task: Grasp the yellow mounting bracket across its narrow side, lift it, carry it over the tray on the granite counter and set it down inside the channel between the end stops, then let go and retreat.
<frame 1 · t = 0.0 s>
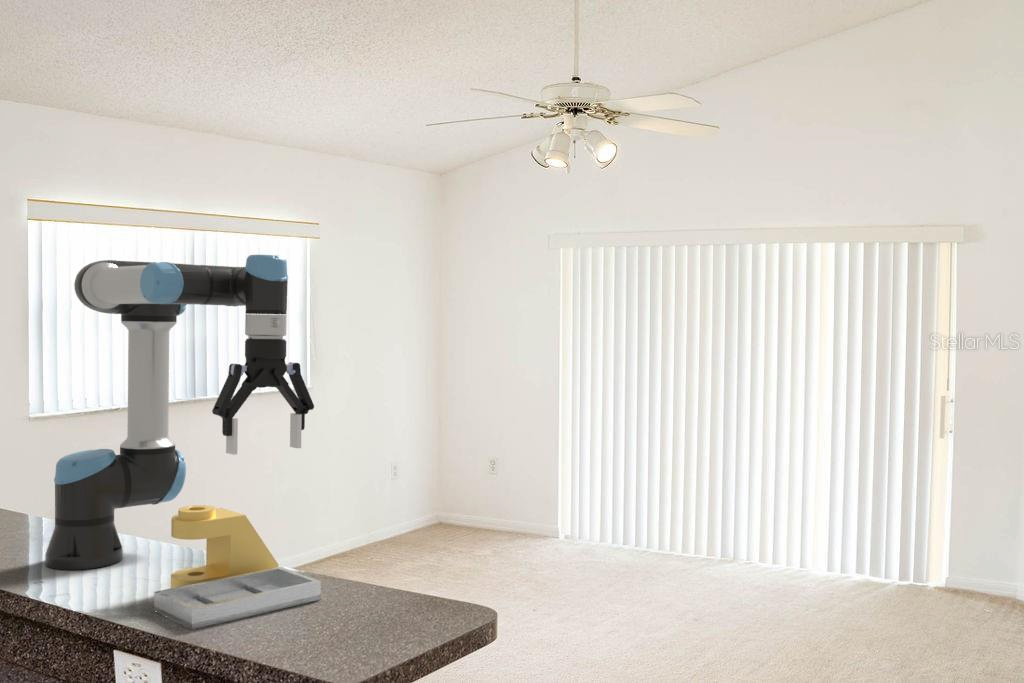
hand: (264, 450, 180), 28 cm above the counter, fingers open, 13 cm apart
tray: (239, 605, 176), on the counter
yellow mounting bracket: (221, 587, 189), on the counter
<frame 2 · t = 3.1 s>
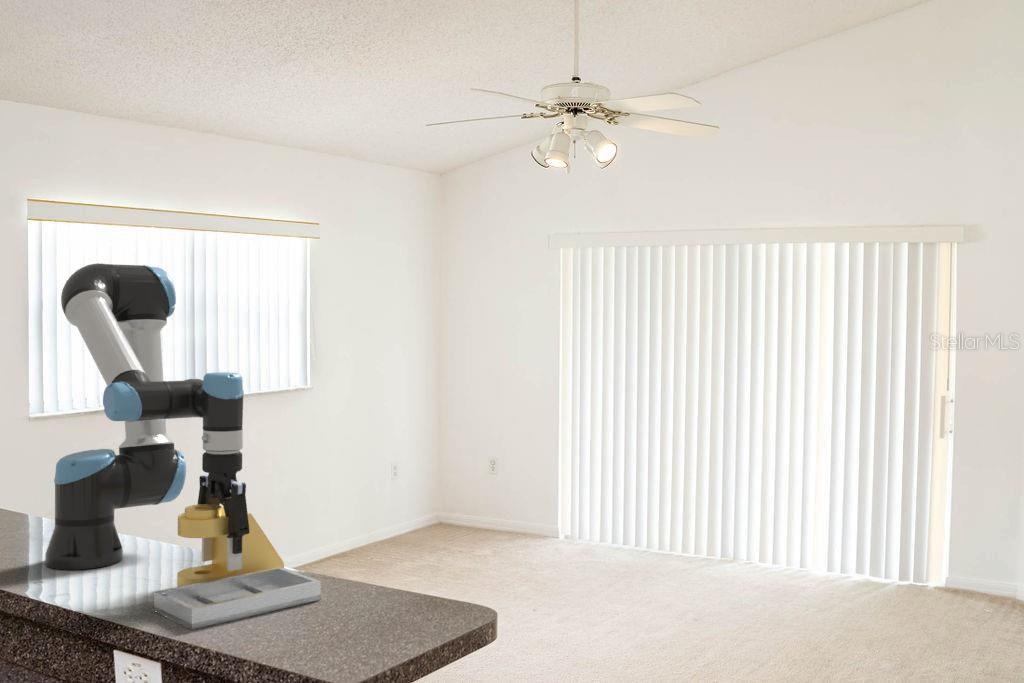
hand: (221, 564, 189), 4 cm above the counter, fingers closed on yellow mounting bracket, 9 cm apart
yellow mounting bracket: (227, 585, 190), on the counter, touching gripper
when the fingers open (7 cm above the counter, at t = 8.3 s): yellow mounting bracket drops 2 cm, resting on tray.
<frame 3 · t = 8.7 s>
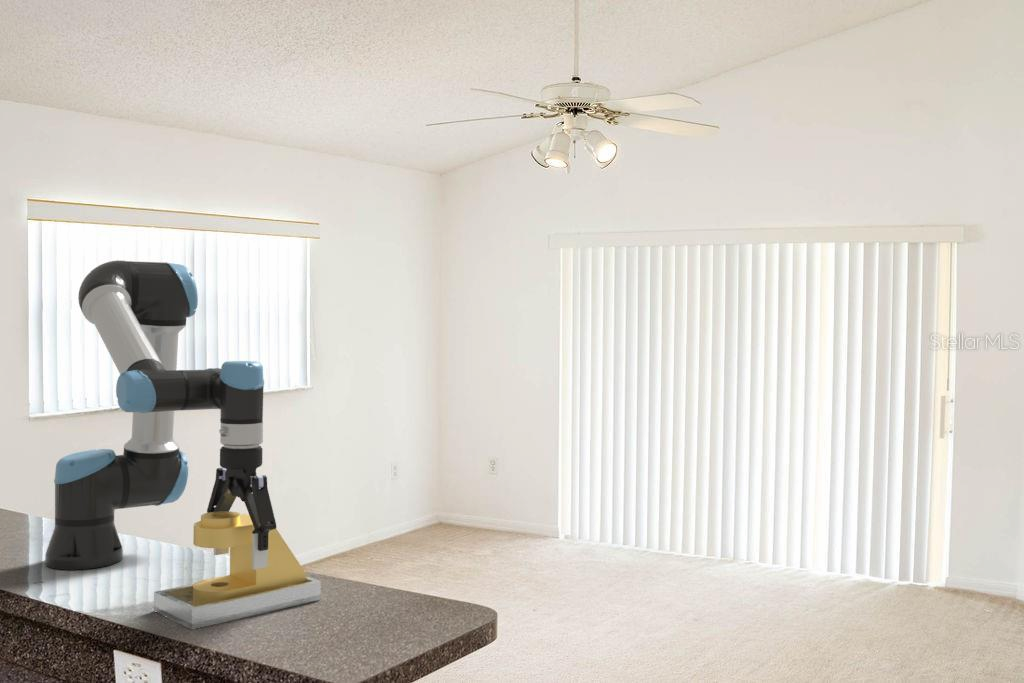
hand: (240, 560, 176), 8 cm above the counter, fingers open, 13 cm apart
yellow mounting bracket: (246, 598, 177), point 1 cm above the counter, touching tray
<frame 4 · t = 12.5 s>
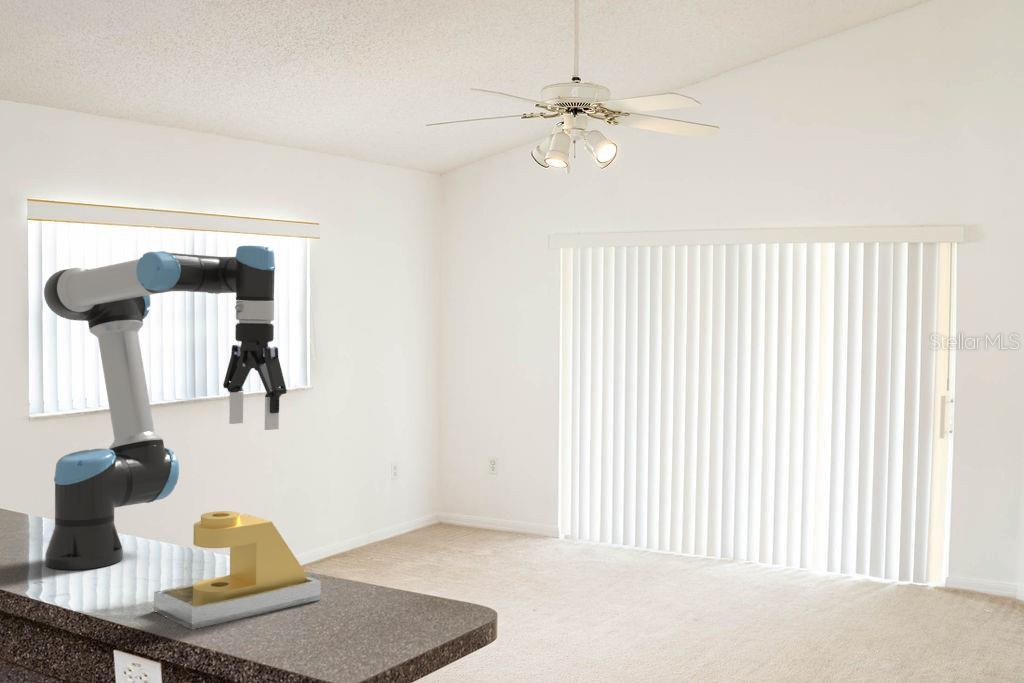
hand: (253, 426, 195), 31 cm above the counter, fingers open, 13 cm apart
nothing on the counter moved.
at the end: yellow mounting bracket inside the target area on the tray (1.4 cm from its centre), point 1.0 cm above the tray's base; the gripper is holding nothing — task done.
